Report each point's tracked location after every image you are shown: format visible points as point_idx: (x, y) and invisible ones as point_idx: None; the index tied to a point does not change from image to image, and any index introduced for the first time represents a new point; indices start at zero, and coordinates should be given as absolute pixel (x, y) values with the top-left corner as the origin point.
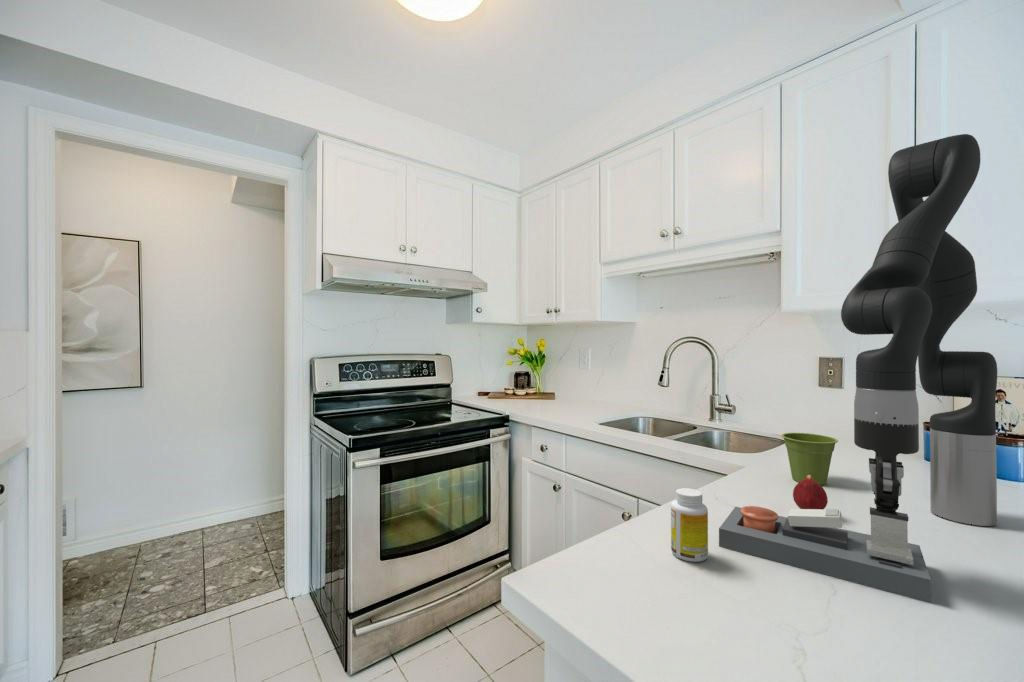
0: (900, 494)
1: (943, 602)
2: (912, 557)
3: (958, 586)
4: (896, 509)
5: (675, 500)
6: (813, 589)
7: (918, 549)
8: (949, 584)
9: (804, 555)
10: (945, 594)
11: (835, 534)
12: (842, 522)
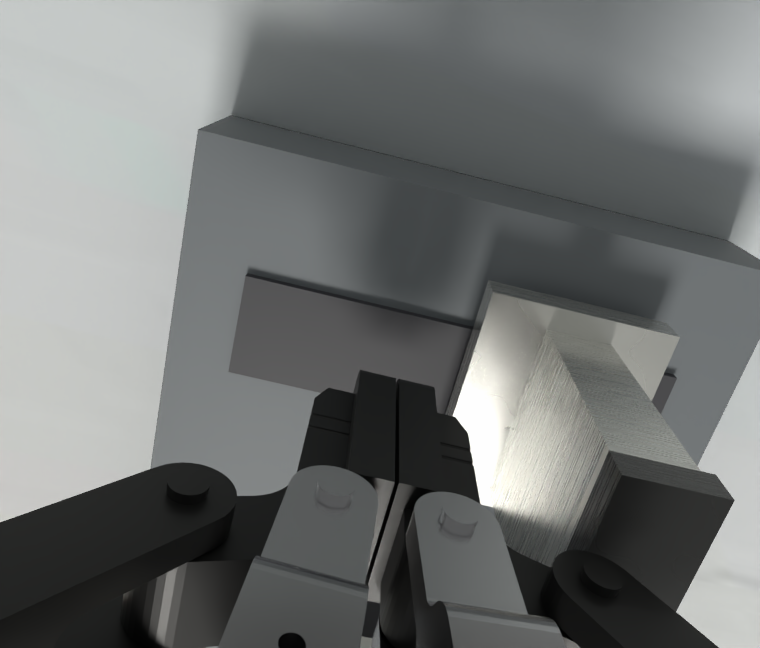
0: (548, 627)
1: (703, 179)
2: (647, 331)
3: (466, 10)
4: (489, 514)
5: None
6: (736, 639)
7: (295, 167)
8: (457, 52)
9: None
10: (603, 130)
11: (379, 606)
12: (368, 639)
